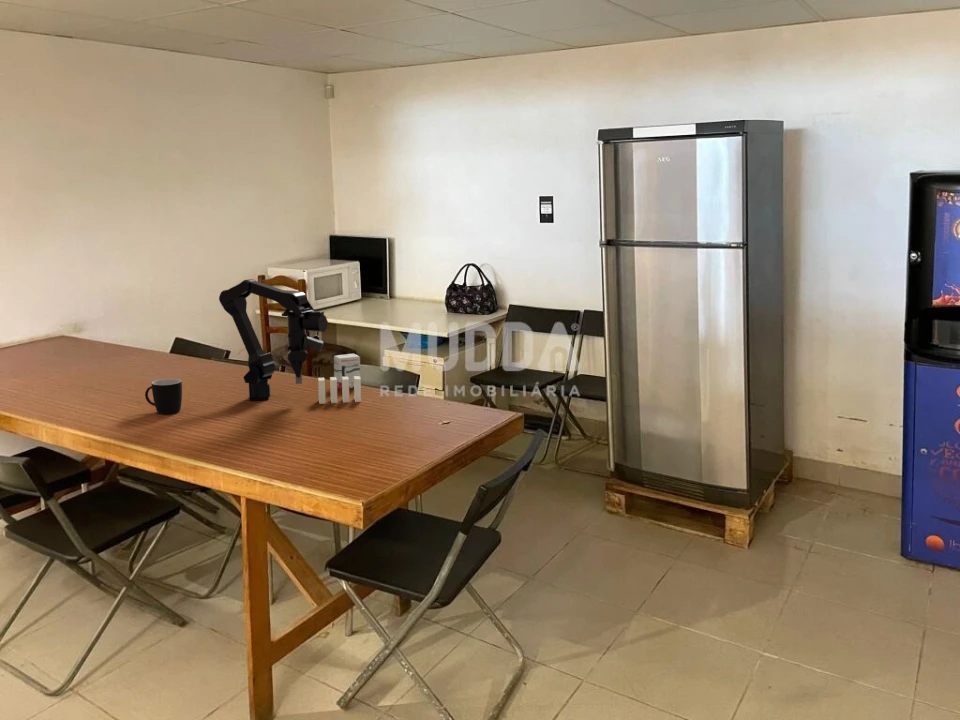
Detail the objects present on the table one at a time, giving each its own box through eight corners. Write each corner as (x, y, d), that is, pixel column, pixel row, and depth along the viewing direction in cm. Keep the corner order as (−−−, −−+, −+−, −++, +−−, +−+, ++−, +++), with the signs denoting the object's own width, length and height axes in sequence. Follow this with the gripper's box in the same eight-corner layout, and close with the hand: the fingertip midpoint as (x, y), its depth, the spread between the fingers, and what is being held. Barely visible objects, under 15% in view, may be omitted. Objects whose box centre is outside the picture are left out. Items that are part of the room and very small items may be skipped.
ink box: (339, 389, 282) (338, 357, 279) (334, 387, 286) (333, 355, 283) (361, 386, 286) (360, 355, 284) (355, 384, 290) (354, 353, 288)
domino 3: (331, 403, 263) (330, 380, 262) (330, 399, 268) (330, 377, 266) (337, 402, 264) (336, 379, 262) (336, 399, 268) (336, 377, 266)
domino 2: (319, 403, 262) (318, 380, 261) (318, 400, 267) (318, 377, 265) (325, 403, 263) (324, 380, 261) (324, 400, 267) (324, 377, 265)
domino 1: (295, 383, 259) (295, 360, 258) (295, 380, 263) (294, 357, 262) (301, 383, 260) (301, 360, 258) (301, 380, 264) (301, 357, 262)
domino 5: (355, 401, 265) (354, 379, 264) (354, 398, 269) (353, 376, 268) (361, 401, 266) (360, 378, 264) (360, 398, 270) (359, 376, 268)
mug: (188, 409, 254) (186, 379, 252) (175, 416, 245) (172, 385, 243) (154, 407, 255) (151, 377, 253) (139, 415, 247) (136, 384, 244)
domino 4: (343, 402, 264) (342, 379, 263) (342, 399, 268) (341, 376, 267) (349, 402, 265) (348, 379, 263) (348, 399, 269) (347, 376, 267)
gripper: (322, 334, 251) (323, 381, 254) (320, 325, 269) (321, 369, 272) (287, 335, 248) (288, 382, 251) (287, 325, 266) (288, 370, 269)
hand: (298, 375), depth 261 cm, fingers closed on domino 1, 4 cm apart
